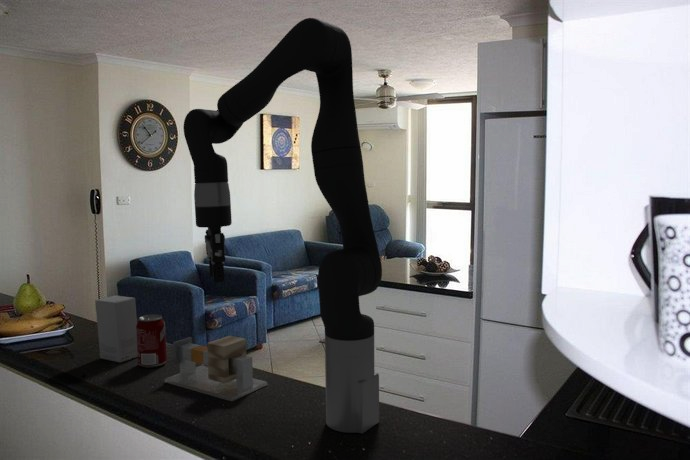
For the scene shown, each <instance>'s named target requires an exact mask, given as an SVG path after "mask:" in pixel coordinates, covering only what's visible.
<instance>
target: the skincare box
mask: <svg viewBox="0 0 690 460" xmlns="http://www.w3.org/2000/svg"><path fill="white" fill-rule="evenodd" d="M94 302H95V304H94V305H95V312H96V314H95V315H96V322H97V334H98V335H97V336H98V345H99V356H100V359H102V360H107V361H110V362H111V361H112V362H115V363H123V362H127V361H130V360H132V358H133V359H135V358H138V352H137V331H136V325H137V323H138V317H137V305H136V297H131V296H130V297H129V296H122V295H116V294H115V295H112V296H107V297H105V298H104V297H103V298H100V299H96V300H94Z"/></svg>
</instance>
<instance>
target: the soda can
mask: <svg viewBox="0 0 690 460" xmlns="http://www.w3.org/2000/svg"><path fill="white" fill-rule="evenodd" d="M136 331H137V352H138V357H137V364H138V365H139V366H141V367H142V368H144V367H145V369H155V368H159V367H161V366H163V365H164V364H165V363H167V360H168V359H167V358H168V357H167V339H166V338H167V334H166V322H165V321H164V319H163V315H161V314H146V315H142V316H140V317H138V321H137V325H136Z"/></svg>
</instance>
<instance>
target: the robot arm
mask: <svg viewBox="0 0 690 460" xmlns="http://www.w3.org/2000/svg"><path fill="white" fill-rule="evenodd" d="M350 41H351V40H350V38H349V36H348V34H347V32H346V31H345V30H344V29H343V28H341V27H339V26H338V25H336V24H334V23H329V22H327V21H325V20H323V19H320V18H316V17H315V18H314V17H308V18H304V19H302V20H300V21H299V22H297V23H296V24H294V26H293V27H292V28H291V29H289V31H287V33H286V34H285V35H284V36H283V37H282V38H281V40H280V41H279V42H278V43H277V44H276V45H275V47H274V48H273V49H271V51H270V52H269V53H268V54H267V55H266V56H265V57H264V58H263V60H261V61H260V62H259V63H258V65H256V67H255V68H254V69H253V70H252V71H251V72H250V73H249V74H247V75H246V76H245V77H244V78H243V79H241V80H239V81H238V82H237V83H235V84H234V85H233V86H231V87H230V88H229V89H227V91H225V92H224V93H223V94H221V96H220V97H219V98H218V100H217V103H216V105H217V106H216V107H217V108H216V109H217V110H215V109H214V110H213V109H203V108H194V109H191V110H190V111H188V112H187V114H186V115H185V118H184V121H183V136H184V139H185V141H186V145H187V148H188V152H189V155H190V157H191V160H192V164H193V173H194V190H193V191H194V194H193V197H194V198H193V199H194V211H195V212H194V213H195V215H194V216H195V227H197V228H207V229H206V230H205V235H204V244H205V251H206V255H207V256H206V257H207V260H208V268H209V270H208V271H209V276H210V277H211V278H213V280H212V281H213V282H214V283H223V282H224V281H225V267H224V265H225V263H226V259H227V258H226V256H225V255H226V245H225V242H226V237H225V234H224V232H222V230H221V228H222V227H229V226H231V225H232V224H233V223H232V222H233V221H232V207H231V205H232V202H231V190H230V184H229V171H228V170H229V169H228V161H227V158H226V157H225V156H224V155H221V154H219V153H217V152H216V151H215V149H214V147H213V145H214V144H215V145H216V144H217V145H219V144H223V143H226V142H228V141H229V140H230V139H232V138H233V137H234V136H235V135H236V133H238V131H239V130H240V129H241V128H242V127H243V124H244V123H245V122H247V121H248V120H250V119H251V118H253V117H254V116H256V115H258V114H259V113H260V112H261V111H263V109H265V108H266V107H267V106H268V105H269V104H270V103H271V101H272V99H273V97H274V96H275V94H276V92H277V90H278V89H279V87H280V86H281V85H282V84H283V83H284V82H285V81H286V80H287V79H289V78H291V77H293V76H295V75H296V74H299V73H301V72H303V71H308V72H312V73H315V76H316V80H317V81H316V82H317V85H318V86H317V87H318V93H319V94H318V95H319V110H318V115H317V119H316V122H315V125H314V128H313V132H312V136H311V140H310V141H311V143H310V144H311V145H310V146H311V147H310V149H311V158H312V165H313V173H314V179H315V182H316V184H317V186H318V188H319V191H320V192H321V194H322V196H323V198H324V199H325V201H326V202H327V204H328V205H329V208H331V210H332V212H333V213H334V216H335V217H336V220H337V222H338V225H339V229H340V233H341V240H342V249H341V248H340V249H335V250H331V251H328V252H327V253H326V254H325V255H323V257H322V259H321V260H320V263H319V267H318V273H317V274H318V275H317V285H318V299H319V300H318V301H319V313H320V318H321V321H322V323H323V326H324V360H325V361H324V364H325V365H324V369H325V372H324V373H325V379H324V380H325V381H324V382H325V423H326V424H325V425H326V426H327V427H328V428H329V429H331V430H334V431H335V432H336V431H337V432H340V433H348V434H349V433H359V434H365V432H367V431H369V430H370V429H371V428H373V427H374V426H376V425H377V424H379V422H380V375H379V373H377V372H375V322H374V319H373V318H372V316H369V315H367V314H363V313H362V312H361V306H360V297H362V296H365V295H370V294H372V293H374V292H375V291H376V290H378V288H379V286H380V284H381V282H382V277H383V276H382V275H383V268H382V261H381V260H382V259H381V255H380V251H379V246H378V242H377V239H376V238H377V237H376V234H375V229H374V225H373V223H372V222H373V220H372V217H371V212H370V206H369V205H370V204H369V203H370V202H369V200H368V192H367V186H366V180H365V179H366V178H365V169H364V161H363V154H362V152H363V151H362V147H361V146H362V145H361V141H360V135H359V129H358V128H359V127H358V119H357V112H356V105H355V98H354V79H353V76H354V75H353V53H352V44H351V42H350Z"/></svg>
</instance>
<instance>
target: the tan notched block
mask: <svg viewBox="0 0 690 460" xmlns="http://www.w3.org/2000/svg"><path fill="white" fill-rule="evenodd" d="M206 344H207V345H206V347H207V350H208V366H207V367H208V378H209V379H210V380H214V381H217V382H221V383H227V382H230V381H232V380H235V379H236V373H235V372H231V371H229V366H228V359H229V358H232V357H234V356H237V355H240V354H241V355H246V356H247V338H245V337H244V338H243V337H239V336H234V335H233V336H232V335H227V336H225V337H221V338H219V339H215V340H213V341H209V342H207V343H206Z"/></svg>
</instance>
